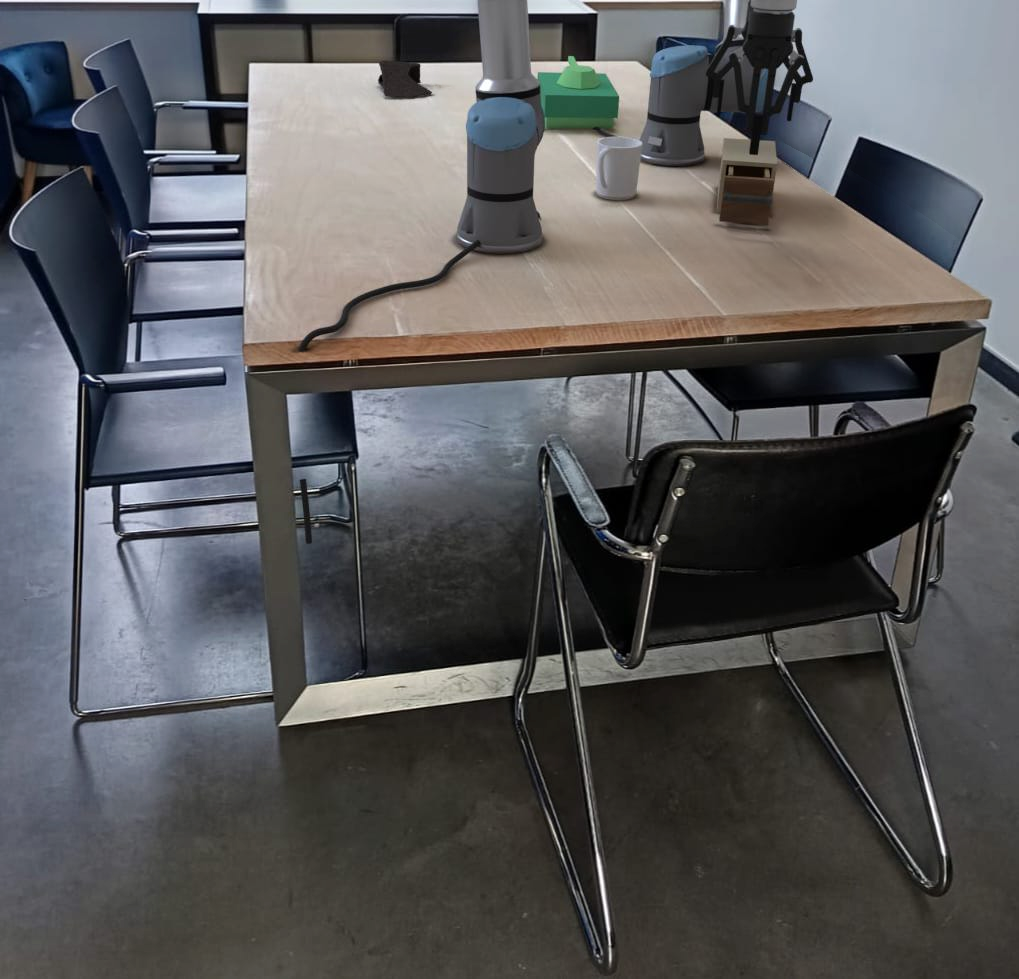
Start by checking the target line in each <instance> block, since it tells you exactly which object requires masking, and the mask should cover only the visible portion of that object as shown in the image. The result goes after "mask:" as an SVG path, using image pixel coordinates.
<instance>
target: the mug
mask: <svg viewBox="0 0 1019 979" xmlns="http://www.w3.org/2000/svg"><path fill="white" fill-rule="evenodd" d="M641 151H642V142H641V141H640V139H638V138H633V137H629V136H628V137H627V136H618V137H606V136H604V137H600V138H598V139H597V140H596V181H595V182H596V183H595V192H596V195H597V196H598V197H600V198H603V199H606V200H611V201H613V200H614V201H624V200H630V199H633V198H635V197H636V196H637V190H638V189H637V188H638V182H639V174H640V165H641V160H640V159H641Z"/></svg>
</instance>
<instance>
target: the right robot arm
mask: <svg viewBox="0 0 1019 979" xmlns="http://www.w3.org/2000/svg"><path fill="white" fill-rule="evenodd" d="M724 4H725V6H724V23H723V39H722V41H720V42H719V43H718V44H716V46H715V53H713V54H712V53H709V51H708V48H707V47H706V46H704V45H693V44H691V45H690V44H689V45H678V46H672V47H671V46H670V47H668V48H667V47H666V48H664V49H661V50H658V51H657V52H656V53H655V54H654V56H652V61H651V68H650V69H651V70H650V73H649V78H650V81H649V82H650V83H649V93H648V104H647V113H646V114H647V115H646V122H645V125H644V127H643V130H642V132H641V135H640V137H639V140H640V141H641V142H642V151H641V159H640V161H641V162H645V163H648V164H652V165H657V166H663V167H665V166H666V167H686V166H693V165H698V164H700V163H702V162H704V160H705V152H706V151H705V146H704V139H703V135H702V129H701V113H702V112H716V117H717V118H718V117H719V118H721V113H742V114H745V113H744V112H741V111H739V109H738V102H737V93H736V84H735V75H734V68H733V66H732V64H731V62H730V60H729V54H730V52H732V51H736V50H738V49H740V48H741V47H742V46H743V42H744V41H745V39H746V37H747V30H748V22H749V14H750V12H751V11H752V10H754V8H752V7H751V0H725V3H724ZM792 43H794V45H795V48H796V52H797V53H798V54H799V55H802V56H803V57H804V63H803V64H802V65H801V67H802V70H803V73H804V75H801V74H800V73H799V71H798V70H797V71H796V74H795V77H794V79H793V81H794V82H792V84H791V87H790V91H789V92H790V93H789V100H788V105H787V113H786V122H792V118H793V111H794V105H795V104H796V103H797V104H799V103H800V101H801V98H802V91H803V86H804V85H806V84H808V83H809V84H811V83H812V82H814V76H813V73H812V70H811V67H810V63H809V60H808V57H807V55H806V54H807V53H806V50H805V48H804V46H803V45H804V44H803V31H802V29H801V28H800V27H797V28H795V29H793V33H792ZM789 60H790V56H788V58H787V59H786V60H785V61H784V62H783V63H782V64H783V65H784V67H785V68H786V70H787V71H788V69H789V67H790V64H789ZM740 64H741V70H742V79H743V89H744V98H745V104H748V105H749V99H750V91H751V84H752V76H753V68H754V67H752V66H751V64H750V62H749V60H748V58H747V57H746V55H745V53H744V54H743V61H742V62H741V63H740ZM777 70H778V68H777V69H776V71H777ZM767 77H768V69H761V74H760V81H759V88H758V95H757V103H756V110H755V113H761V112H763V107H764V99H765V92H766V84H767ZM592 130H593V131H595V132H596V133H597V134H599V135H602V136H603V137H619V136H618V135H615V134H611V133H609V132H607V131H605V130H604V129H600V128H598V127H595V128H593V129H592Z"/></svg>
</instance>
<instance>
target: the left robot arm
mask: <svg viewBox="0 0 1019 979" xmlns="http://www.w3.org/2000/svg"><path fill="white" fill-rule="evenodd" d="M797 5H798V0H751V7H752V8H754V10H752V11H751V12H750V14H749V22H748V30H747V37H746V39H745V41H744V42H743V46H742V47H741V48H740V49H738V50H736V51H732V52H730V54H729V60H730V62H731V64H732V66H733V68H734V75H735V84H736V93H737V102H738V109H739V111H741V112H740V113H743V112H744V113H743V114H746V122H745V134H746V135H751V136H750V140H751V141H750V149H749V155H758V150H759V143H760V140H761V136H766V135H767V134H768V132H769V123H770V118H771V116H774V115H776V114H777V115H778V114H780V113H781V112H782V111H783V107H784V105H785V102H786V100H787V98H788V95H789V92H790V90H791V85H792V83H794V77H795V74H796V71H798V70H799V69H800V68H801V67H802V64H803V63H804V57H803V56H802V55H799V54H798V52H797V51H796V50H794V43H793V42H792V33H793V30H794V25H795V18H796V15H795V13H794V12H793V11H795V10H796V9H797ZM477 14H478V24H479V25H478V26H479V36H480V37H479V40H480V50H481V51H480V54H481V67H482V68H481V69H482V78H481V79H480V80H479V81H478V82H477V83H476V85H475V100H476V101H475V103H474V104H472V105H471V106H470V108H469V109H468V111H467V119H466V123H465V130H466V192H467V193H466V198H465V202H464V205H463V209H462V211H461V214H460V218H459V220H458V224H457V228H456V241H457V243H458V244H459V245H461V246H462V247H464V249H463V250H462V251H460V252H459V253H458V254H456V255H455V256H454V257H452V258H451V259H450V260H448V262H446V264H445V265H444V266H443V268H442V269H441V271H440V272H439V273H437V274H436V275H433V276H431V277H428V278H423V279H419V280H412V281H405V282H399V283H393V284H389V285H385V286H381V287H378V288H374V289H372V290H369V291H366V292H364V293H362V294H360V295H358V296H356V297H355V298H353V299H352V300H350V301H349V302H347V303H346V304H345V305H344V307H343V309H342V311H341V316H340V318H339V320H338V321H337V322H336V323H335V324H333V325H329V326H323V327H320V328H316V329H314V330H312V331H311V332H309V333H308V334H307V335H306V336H305V337H304V338H303V339H302V341H301V342H300V344H299V346H298V348H297V352H300V353H302V352H305V351H306V350H307V348H308V346H309V344H310V343H311V342H312V341H313V340H314V339H315V338H318V337H320V336H324V335H328V334H333V333H336V332H339V330H341V329H342V328H343V327H344V326H345V325H346V323H347V322H348V318H349V313H350V311H351V310H352V309H353V308H354V307H355V306H357V305H358V304H360V303H362V302H364V301H366V300H369V299H371V298H375V297H378V296H381V295H383V294H386V293H391V292H394V291H399V290H406V289H414V288H420V287H424V286H425V287H426V286H429V285H432V284H435V283H437V282H440V281H441V280H443V279H444V278H445V277H447V275H448V273H449V271H450V270H451V268H452V267H453V266H454V265H456V264H457V263H458V262H460V260H462V259H463V258H465V257H466V256H467V255H468V254H470V253H471V252H473V251H475V252H479V253H486V254H497V255H499V254H500V255H506V254H507V255H508V254H517V253H524V252H527V251H530V250H533V249H536V248H538V247H539V246H540V245H541V244H542V243H543V229H542V224H541V221H542V218H541V214H540V212H539V211H538V210H537V206H536V204H535V199H534V184H535V181H534V180H535V158H536V152H537V150H538V147H539V145H540V143H541V142H542V140H543V138H544V133H545V130H546V129H545V115H544V113H543V109H542V107H541V92H540V81H539V80H538V79H537V78H536V77H535V75H533V73H532V64H531V63H532V62H531V45H530V26H529V25H530V23H529V6H528V0H477ZM744 53H745V55H746V57H747V58H748V60H749V62H750V64H751V66H752V67H754V68H753V76H752V84H751V91H750V99H749V105H748V104H745V98H744V89H743V79H742V70H741V64H740V63H741V62H742V61H743V54H744ZM788 57H789V59H790V60H789V64H790V67H789V69H788V70H787V72H786V73H785V76H784V79H783V82H782V85H781V86H780V90H779V93H778V95H777V97H776V100H775V102H774V104H773V105H772V103H773V96H774V90H775V89H774V88H775V83H776V82H775V81H776V75H777V70H778V69H779V68H780V67H781V66H782V65H783V64H784V63H783V62H784V61H785V60H786V59H787V58H788ZM761 69H768V77H767V84H766V92H765V99H764V107H763V111H762V113H756V112H755V110H756V103H757V95H758V88H759V81H760V74H761ZM776 69H777V70H776ZM307 484H308V482H307V478H301V479H299V487H300V494H301V496H300V497H301V502H302V503H301V505H302V514H303V522H304V523H303V524H304V525H303V526H304V538H305V544H306V545H311V544H313V536H312V535H313V534H312V523H311V511H310V503H309V502H310V501H309V492H308V485H307Z"/></svg>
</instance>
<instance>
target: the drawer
mask: <svg viewBox="0 0 1019 979" xmlns="http://www.w3.org/2000/svg"><path fill="white" fill-rule="evenodd" d="M773 187H774V188H775V183H774V179H770V172H769V167H754V166H740V165H728V173H727V176H726V175H725V179H724V187H723V195H722V203H721V211H720V213H719V222H721V223H734V224H735V223H736V224H748V225H761V226H769V221H770V216H769V215H771V210H770V208H771V209H772V205H773V202H774V196H773V197H772V194H773V195H774V190H773Z"/></svg>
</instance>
